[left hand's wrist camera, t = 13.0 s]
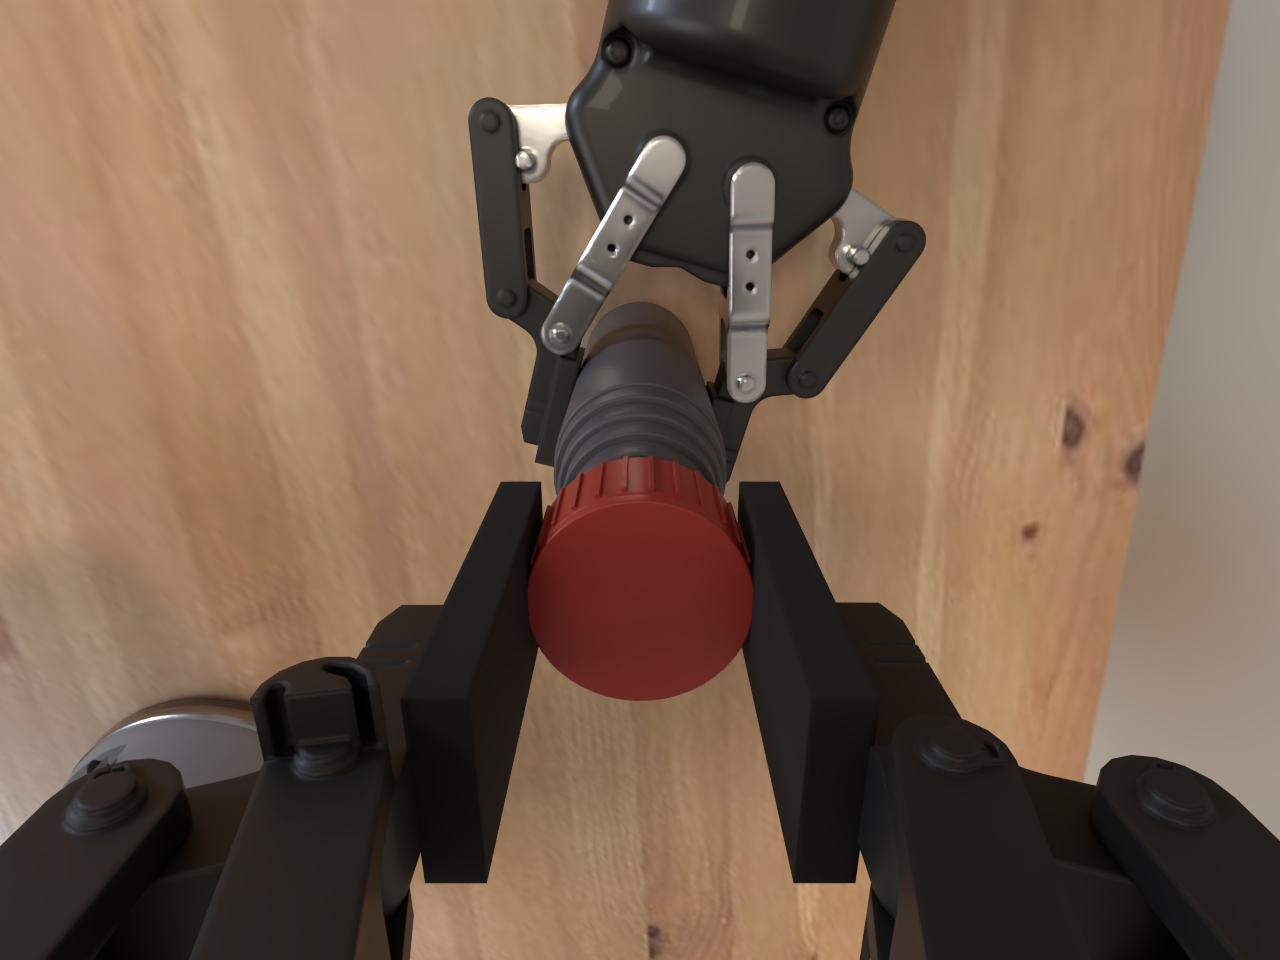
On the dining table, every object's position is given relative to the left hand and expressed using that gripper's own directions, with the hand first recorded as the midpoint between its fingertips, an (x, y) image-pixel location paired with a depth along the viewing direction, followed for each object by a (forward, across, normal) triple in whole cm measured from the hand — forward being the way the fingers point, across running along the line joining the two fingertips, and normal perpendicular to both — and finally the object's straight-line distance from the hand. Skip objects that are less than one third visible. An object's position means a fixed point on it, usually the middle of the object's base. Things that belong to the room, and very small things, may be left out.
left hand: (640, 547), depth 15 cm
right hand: (+11, -1, -3) cm, 11 cm away
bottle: (+18, 0, 0) cm, 18 cm away
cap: (-2, 0, 0) cm, 2 cm away
